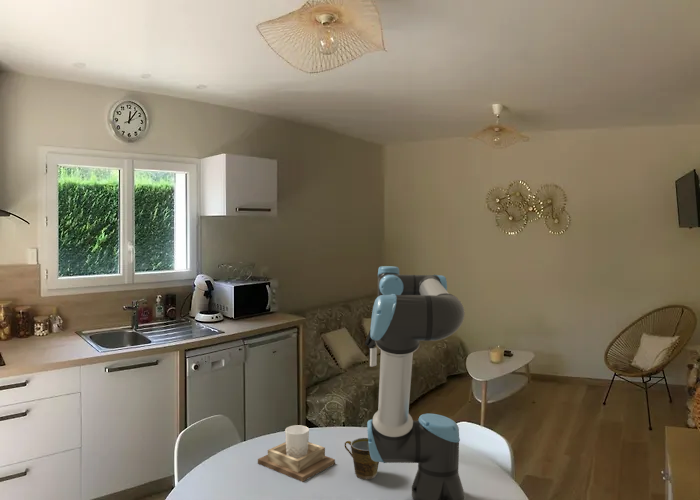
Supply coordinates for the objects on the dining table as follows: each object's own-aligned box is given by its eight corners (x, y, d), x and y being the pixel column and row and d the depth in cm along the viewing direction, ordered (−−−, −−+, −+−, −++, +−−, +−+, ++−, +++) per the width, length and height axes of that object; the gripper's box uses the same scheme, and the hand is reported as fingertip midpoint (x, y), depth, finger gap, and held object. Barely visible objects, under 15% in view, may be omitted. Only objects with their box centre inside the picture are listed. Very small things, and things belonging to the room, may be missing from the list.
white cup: (281, 456, 174) (282, 427, 174) (304, 452, 177) (304, 423, 177) (289, 466, 167) (289, 435, 167) (312, 462, 170) (312, 432, 170)
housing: (334, 463, 173) (335, 449, 172) (302, 481, 160) (302, 465, 160) (291, 447, 185) (291, 434, 184) (257, 463, 172) (257, 448, 172)
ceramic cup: (386, 472, 167) (387, 441, 167) (372, 485, 158) (372, 453, 158) (352, 462, 174) (352, 433, 173) (336, 474, 165) (336, 443, 165)
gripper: (422, 313, 176) (421, 375, 177) (370, 305, 194) (369, 361, 195) (407, 315, 171) (406, 379, 172) (355, 306, 189) (355, 364, 190)
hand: (386, 369), depth 183 cm, fingers open, 13 cm apart
